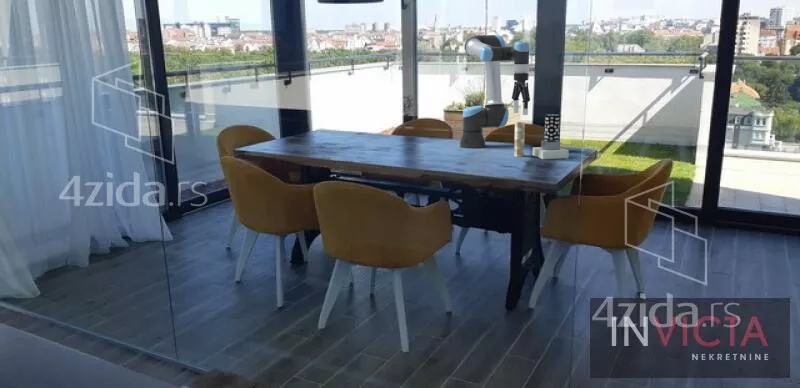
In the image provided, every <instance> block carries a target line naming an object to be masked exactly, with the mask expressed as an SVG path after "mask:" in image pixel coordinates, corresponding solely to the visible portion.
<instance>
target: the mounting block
mask: <svg viewBox="0 0 800 388" xmlns="http://www.w3.org/2000/svg"><path fill="white" fill-rule="evenodd" d="M569 153H570V152H569V150H568V149H566V148H562V147H560V150H544V149H542V148H541V146H540V147H539V146H537V147H532V156H534V157H536V158H539V159H541V160H552V159H553V160H555V159H556V160H557V159H569Z"/></svg>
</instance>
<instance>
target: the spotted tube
mask: <svg viewBox="0 0 800 388" xmlns="http://www.w3.org/2000/svg"><path fill="white" fill-rule="evenodd" d="M561 117H562V115H561V114H557V113H555V114H554V113H548V114H545V115H544V133H543V134H544V138H543V141H547V140H555V141H558V142H560V143H561V141H560V139H561V137H560V136H561Z"/></svg>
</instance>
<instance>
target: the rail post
mask: <svg viewBox="0 0 800 388" xmlns="http://www.w3.org/2000/svg"><path fill="white" fill-rule="evenodd" d="M525 127H526V122H525V121H515V122H514V142H513V143H514V146H513V156H514V157H516V158H517V157H518V158H519V157H524V156H525V133H526V132H525V131H526V130H525V129H526V128H525Z"/></svg>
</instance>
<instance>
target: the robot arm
mask: <svg viewBox="0 0 800 388" xmlns="http://www.w3.org/2000/svg"><path fill="white" fill-rule="evenodd" d="M504 39H505V38H503V36H501V35H498V34H497V35H496V34H484V35H483V34H482V35H479V34H478V35H472V36H471V37H469V38H467V39H466V41H465V43H464V51H465V52H466V54H468V55H470V56H473V57H475V56H476V57H479V58H480V61H481V62H484V65H485V85H486V86H485V87H486V88H485V89H486V103H485V104H484V107H483V105H473V106H468V107H465V108H464V109H462V135H461V137H460V140H459V147H460V148H465V149H467V148H468V149H479V148H485V147H486V139H485V137H484V132H483V129H492V128H493V129H494V128H497V129H498V128H504V127H505V126H506V125H507V124H508V121H509V118H510V117H509V116H510V113H509V112H510V111H509V108H508V107H506V106H505V103H504V101H503V100H502V96H503V95H502V80H501V78H502V77H501V62H513V72H514V73H513V81H514V84H513V90H512V94H511V99H512V101H513V103H512V106H513V107H512V108H513V109H512V112H513V114H519V106H520V105H519V101H520V98H519V97H520V96H521V98H522V101H521V102H522V103H521V104H522V106H521V113H522V116H528V114H529V113H528V112H529V102H531V97H530V91H529V83H528V82H526V81H529V73H528V72H529V68H530V64H529V63H530V42H528V41H521V42H520V41H517V42H515V43H514V46H512V45H511V46H506V43H505V40H504Z"/></svg>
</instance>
